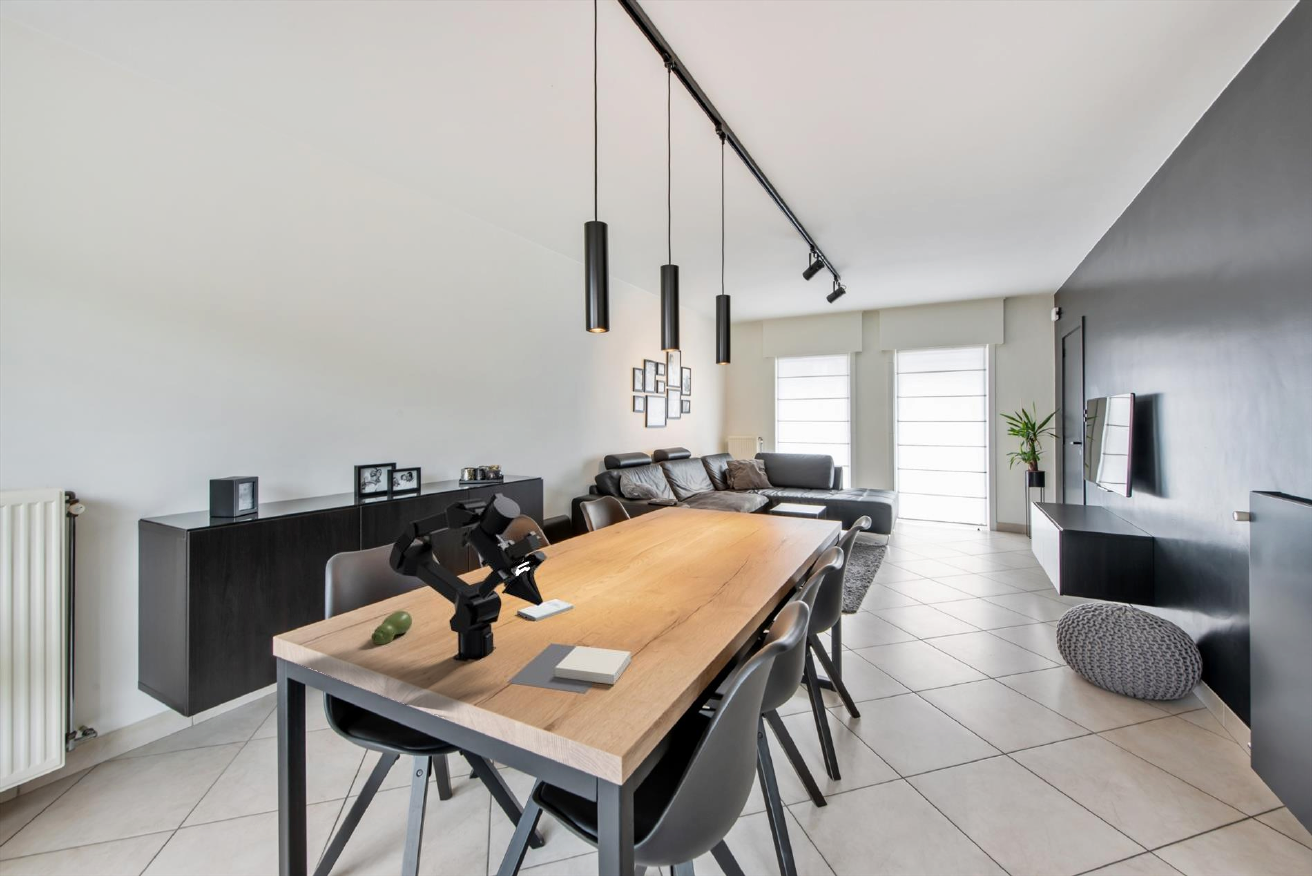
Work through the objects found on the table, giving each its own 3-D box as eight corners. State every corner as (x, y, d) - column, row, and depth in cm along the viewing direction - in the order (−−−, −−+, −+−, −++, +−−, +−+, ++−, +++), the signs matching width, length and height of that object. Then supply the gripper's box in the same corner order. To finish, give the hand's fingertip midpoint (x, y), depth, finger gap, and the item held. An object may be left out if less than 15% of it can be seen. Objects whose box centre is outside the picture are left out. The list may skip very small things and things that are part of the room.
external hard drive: (517, 616, 131) (554, 603, 141) (535, 623, 126) (573, 610, 136) (516, 610, 131) (554, 597, 141) (535, 617, 126) (573, 604, 135)
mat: (506, 685, 94) (506, 682, 94) (551, 646, 111) (551, 643, 111) (585, 696, 90) (585, 693, 90) (618, 653, 107) (618, 651, 107)
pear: (415, 608, 121) (383, 630, 111) (418, 628, 122) (387, 652, 112) (396, 606, 122) (363, 628, 113) (399, 625, 123) (366, 649, 114)
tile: (555, 667, 96) (613, 674, 92) (577, 645, 105) (630, 651, 102) (555, 677, 96) (614, 685, 92) (577, 655, 105) (630, 661, 102)
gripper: (490, 529, 94) (544, 591, 91) (538, 514, 112) (584, 566, 109) (455, 569, 96) (506, 630, 93) (507, 548, 114) (552, 599, 112)
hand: (540, 603), depth 102 cm, fingers closed
